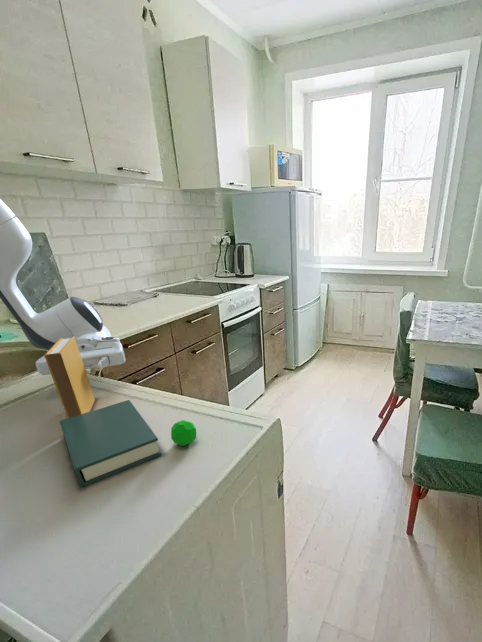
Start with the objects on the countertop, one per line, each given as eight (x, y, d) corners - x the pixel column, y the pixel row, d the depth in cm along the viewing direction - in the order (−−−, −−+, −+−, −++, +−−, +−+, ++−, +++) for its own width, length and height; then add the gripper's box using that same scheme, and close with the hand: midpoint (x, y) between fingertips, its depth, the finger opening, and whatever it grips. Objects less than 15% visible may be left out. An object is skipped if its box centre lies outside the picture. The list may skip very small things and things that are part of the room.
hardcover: (65, 436, 75) (59, 421, 73) (133, 414, 82) (129, 399, 81) (81, 487, 61) (74, 469, 59) (161, 455, 68) (157, 437, 66)
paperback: (82, 401, 90) (60, 338, 82) (95, 399, 90) (74, 336, 83) (70, 425, 79) (44, 355, 72) (84, 423, 80) (60, 353, 73)
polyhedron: (178, 453, 68) (173, 432, 66) (169, 441, 72) (164, 422, 70) (202, 443, 71) (198, 423, 69) (192, 433, 74) (188, 413, 72)
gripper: (41, 346, 93) (22, 365, 81) (124, 336, 98) (117, 352, 86) (49, 368, 96) (32, 389, 84) (129, 357, 101) (124, 376, 89)
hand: (76, 370), depth 85 cm, fingers open, 8 cm apart
